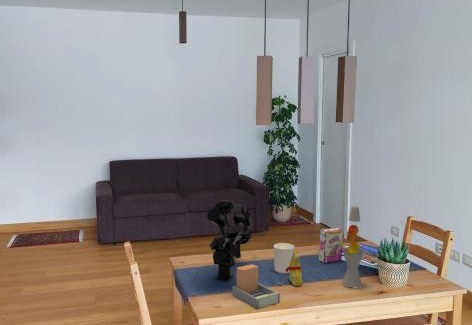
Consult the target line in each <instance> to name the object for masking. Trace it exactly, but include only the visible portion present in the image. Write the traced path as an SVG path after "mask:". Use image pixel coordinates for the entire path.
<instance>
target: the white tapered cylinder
mask: <svg viewBox="0 0 472 325" xmlns="http://www.w3.org/2000/svg"><path fill="white" fill-rule="evenodd" d="M294 250H295V245H293V244H291V243H286V242H279V243H275V244H273V263H274V271H275V272H276V273H279V274H289V270H288V272H286V269H287V267H289V262H290V259H291V257H292V256H293V252H294Z"/></svg>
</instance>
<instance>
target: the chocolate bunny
mask: <svg viewBox="0 0 472 325" xmlns="http://www.w3.org/2000/svg"><path fill="white" fill-rule="evenodd" d="M288 270H289V273H288V274H289V277H288V279H289V282H291V284H292V285H293V286H294V287H300V286H302V285H303V278H302V266H301V262H300V252H299V250H298V249H294V252H293V256H292V257H291V259H290V262H289V267H287V269H286V272H288Z"/></svg>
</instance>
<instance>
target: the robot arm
mask: <svg viewBox="0 0 472 325" xmlns="http://www.w3.org/2000/svg"><path fill="white" fill-rule="evenodd" d="M231 214H234V215H233V217H232V219H233V224H231V223H230V220H229V218H228V216H227V215H231ZM237 214H243V215H237ZM251 214H252V213H250V212H249V211H248V210H247V207H246V205H244V204H243V205H242V204H235V202H234V201H232V200H223V199H219V200H218V201H217V202H216V203H215V205H214V206H213V207H212V209H210V210H209V211H208V212H207V214H206V217H207V220H208V221H209V222H211V223H212V224H214V225H216V226H217V229H218V231H219V232H218V236H219V237H214V238H213V239H212V241H211V242H210V244H209V248H210V249H211V251H213V253H212V260H213V265H215V266H216V265H218V270H217V271H218V272H217V273H218V274H217V275H216V276H215V277H214V278H215V279H217V280H224V281H230V280H231V279H232V278H233V277H234V276H235V275H234V274H232V270H231V269H232V267H235V266H236V259H237V260H238V259H241V257H242V255H241V254H242V252H241V245H246V244H247V243H248V242H249V241H250V240H251V239H252V237H253V236H252V234H251V232H249V229H251V227H252V226H253V218H252V215H251Z"/></svg>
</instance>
